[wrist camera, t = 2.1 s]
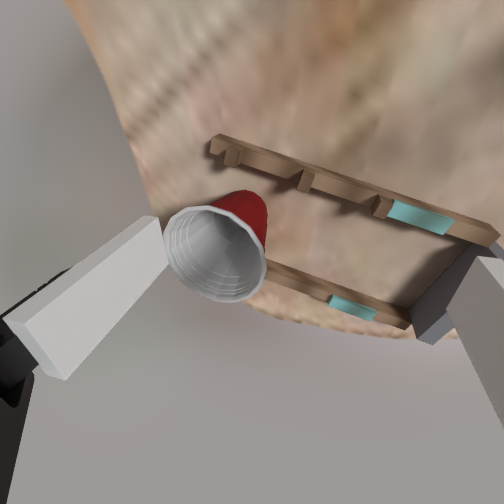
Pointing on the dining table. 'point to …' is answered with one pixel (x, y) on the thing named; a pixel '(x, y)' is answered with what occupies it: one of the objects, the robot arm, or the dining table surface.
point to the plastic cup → (220, 247)
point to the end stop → (445, 295)
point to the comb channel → (360, 193)
